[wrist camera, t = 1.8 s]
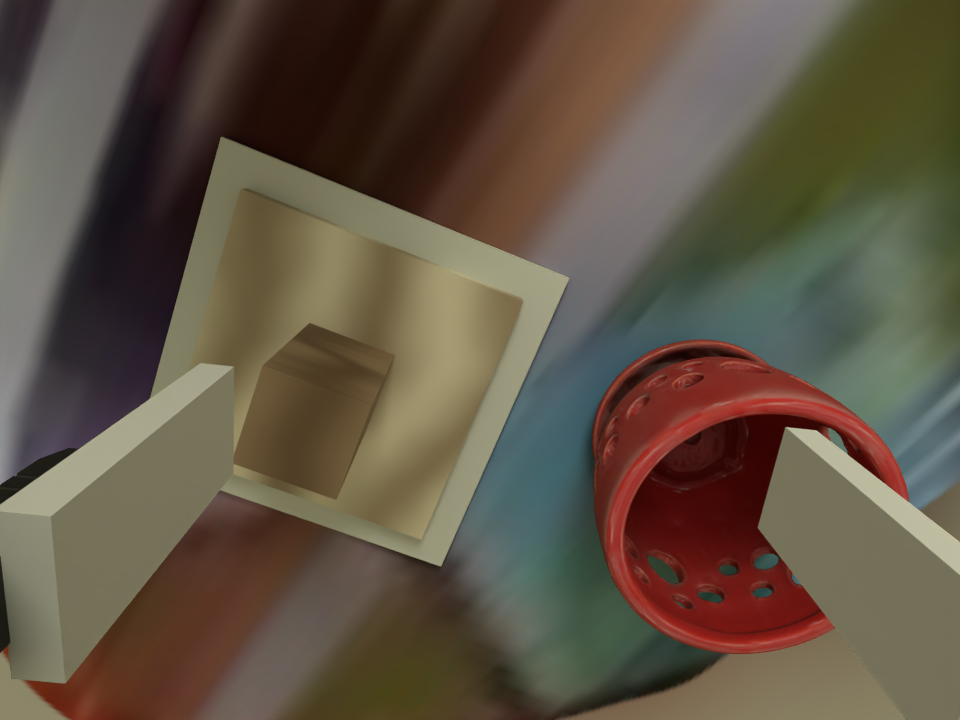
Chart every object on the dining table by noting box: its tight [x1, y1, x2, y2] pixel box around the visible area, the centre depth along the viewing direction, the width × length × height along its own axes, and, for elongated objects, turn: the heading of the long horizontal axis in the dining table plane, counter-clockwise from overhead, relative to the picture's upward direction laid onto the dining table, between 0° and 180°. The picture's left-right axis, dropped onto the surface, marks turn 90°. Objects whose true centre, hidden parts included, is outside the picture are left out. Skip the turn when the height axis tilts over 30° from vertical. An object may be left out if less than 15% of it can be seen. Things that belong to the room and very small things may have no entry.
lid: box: [188, 188, 523, 539], centre depth 33 cm, size 16×16×9 cm
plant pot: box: [592, 340, 909, 654], centre depth 33 cm, size 13×13×12 cm
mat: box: [150, 137, 569, 566], centre depth 37 cm, size 20×20×1 cm
